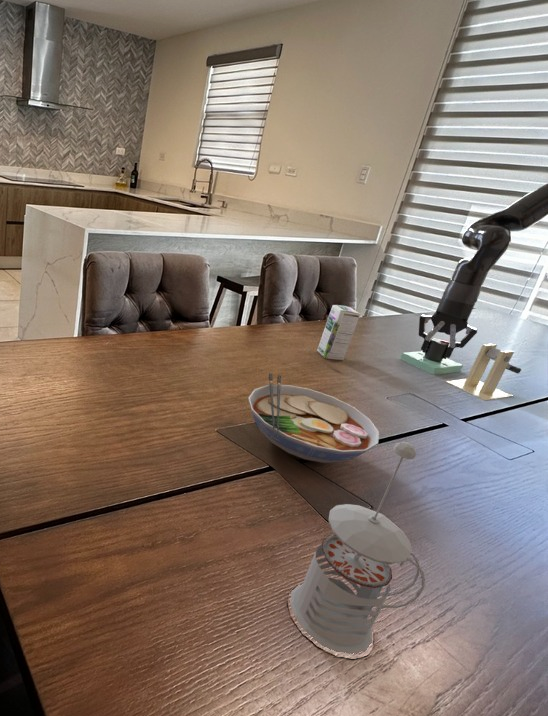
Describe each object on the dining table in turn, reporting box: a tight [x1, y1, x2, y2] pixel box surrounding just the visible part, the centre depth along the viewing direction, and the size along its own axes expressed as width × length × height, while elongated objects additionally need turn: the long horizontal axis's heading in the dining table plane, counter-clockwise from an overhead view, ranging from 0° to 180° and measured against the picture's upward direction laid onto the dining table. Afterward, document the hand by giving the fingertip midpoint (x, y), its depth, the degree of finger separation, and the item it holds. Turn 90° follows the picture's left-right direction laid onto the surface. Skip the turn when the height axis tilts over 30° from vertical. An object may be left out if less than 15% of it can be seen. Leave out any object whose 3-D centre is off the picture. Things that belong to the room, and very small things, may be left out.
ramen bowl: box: [248, 372, 380, 464], centre depth 88 cm, size 25×23×8 cm
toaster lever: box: [486, 347, 522, 375], centre depth 122 cm, size 12×5×2 cm, turn 113°
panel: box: [400, 350, 464, 376], centre depth 135 cm, size 12×10×3 cm
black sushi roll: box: [424, 337, 450, 362], centre depth 134 cm, size 4×4×6 cm
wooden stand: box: [444, 343, 515, 402], centre depth 121 cm, size 12×10×13 cm
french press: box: [290, 441, 426, 654], centre depth 51 cm, size 10×12×25 cm
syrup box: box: [316, 304, 361, 361], centre depth 133 cm, size 6×6×14 cm
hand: (434, 354), depth 134 cm, fingers closed on black sushi roll, 4 cm apart
